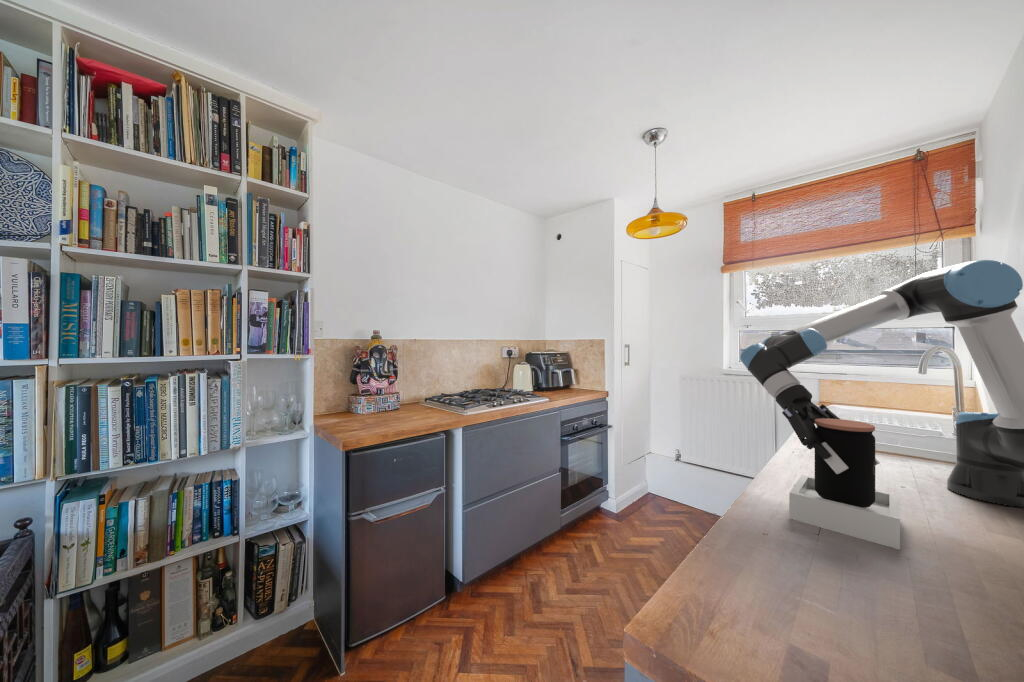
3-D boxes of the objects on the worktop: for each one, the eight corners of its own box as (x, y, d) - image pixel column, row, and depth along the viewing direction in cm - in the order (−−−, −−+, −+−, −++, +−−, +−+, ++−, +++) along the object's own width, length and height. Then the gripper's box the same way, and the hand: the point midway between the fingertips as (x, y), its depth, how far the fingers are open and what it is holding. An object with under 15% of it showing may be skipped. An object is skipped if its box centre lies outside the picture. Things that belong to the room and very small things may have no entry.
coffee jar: (888, 511, 80) (888, 428, 80) (832, 506, 82) (832, 426, 83) (853, 492, 91) (853, 419, 91) (804, 488, 93) (804, 417, 93)
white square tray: (898, 522, 86) (898, 494, 86) (900, 551, 74) (900, 519, 74) (801, 498, 99) (801, 474, 99) (789, 520, 87) (789, 492, 87)
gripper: (806, 398, 105) (875, 471, 90) (747, 402, 97) (812, 481, 83) (827, 381, 100) (903, 455, 85) (767, 384, 92) (839, 465, 78)
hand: (858, 468), depth 84 cm, fingers closed on coffee jar, 11 cm apart
